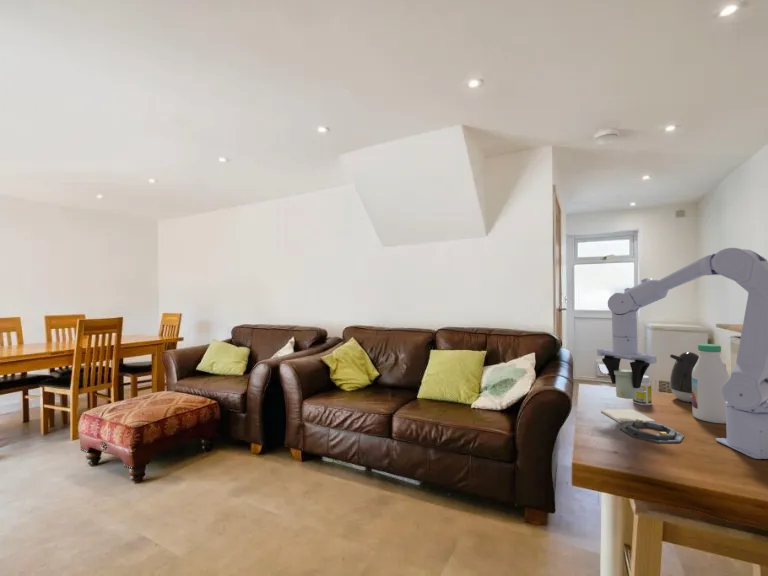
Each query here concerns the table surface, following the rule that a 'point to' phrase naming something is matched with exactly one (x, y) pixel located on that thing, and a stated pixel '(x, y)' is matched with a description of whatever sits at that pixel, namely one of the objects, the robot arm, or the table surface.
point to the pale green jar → (624, 384)
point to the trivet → (626, 415)
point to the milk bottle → (709, 385)
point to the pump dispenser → (683, 375)
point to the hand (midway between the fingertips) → (625, 385)
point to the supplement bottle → (642, 396)
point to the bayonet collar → (658, 438)
